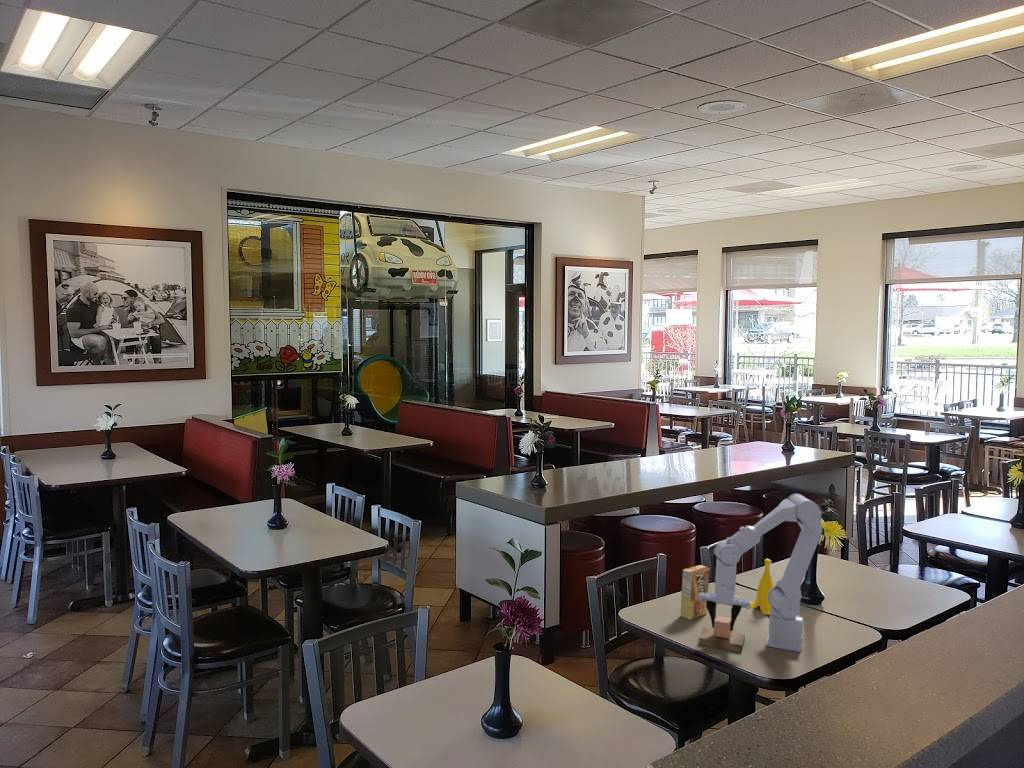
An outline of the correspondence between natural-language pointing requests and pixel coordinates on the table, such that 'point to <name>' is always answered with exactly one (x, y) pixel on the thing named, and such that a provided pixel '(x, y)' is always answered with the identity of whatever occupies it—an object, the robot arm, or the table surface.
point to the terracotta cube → (722, 627)
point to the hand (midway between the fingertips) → (722, 628)
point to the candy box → (694, 591)
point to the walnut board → (722, 640)
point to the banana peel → (763, 591)
